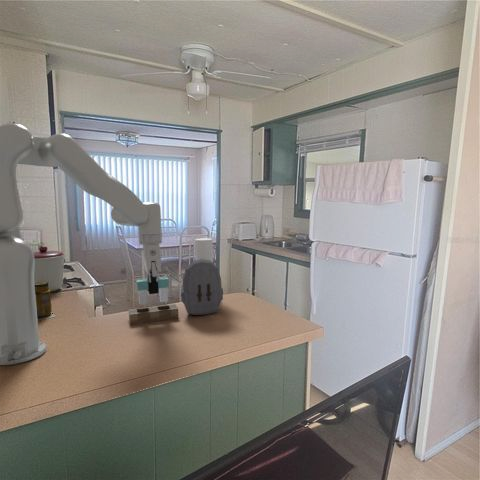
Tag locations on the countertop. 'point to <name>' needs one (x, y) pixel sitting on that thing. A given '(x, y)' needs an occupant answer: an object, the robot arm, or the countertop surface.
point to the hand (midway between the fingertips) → (153, 291)
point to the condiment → (43, 301)
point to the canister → (49, 267)
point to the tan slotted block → (153, 314)
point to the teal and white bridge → (143, 287)
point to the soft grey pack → (202, 288)
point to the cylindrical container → (204, 249)
